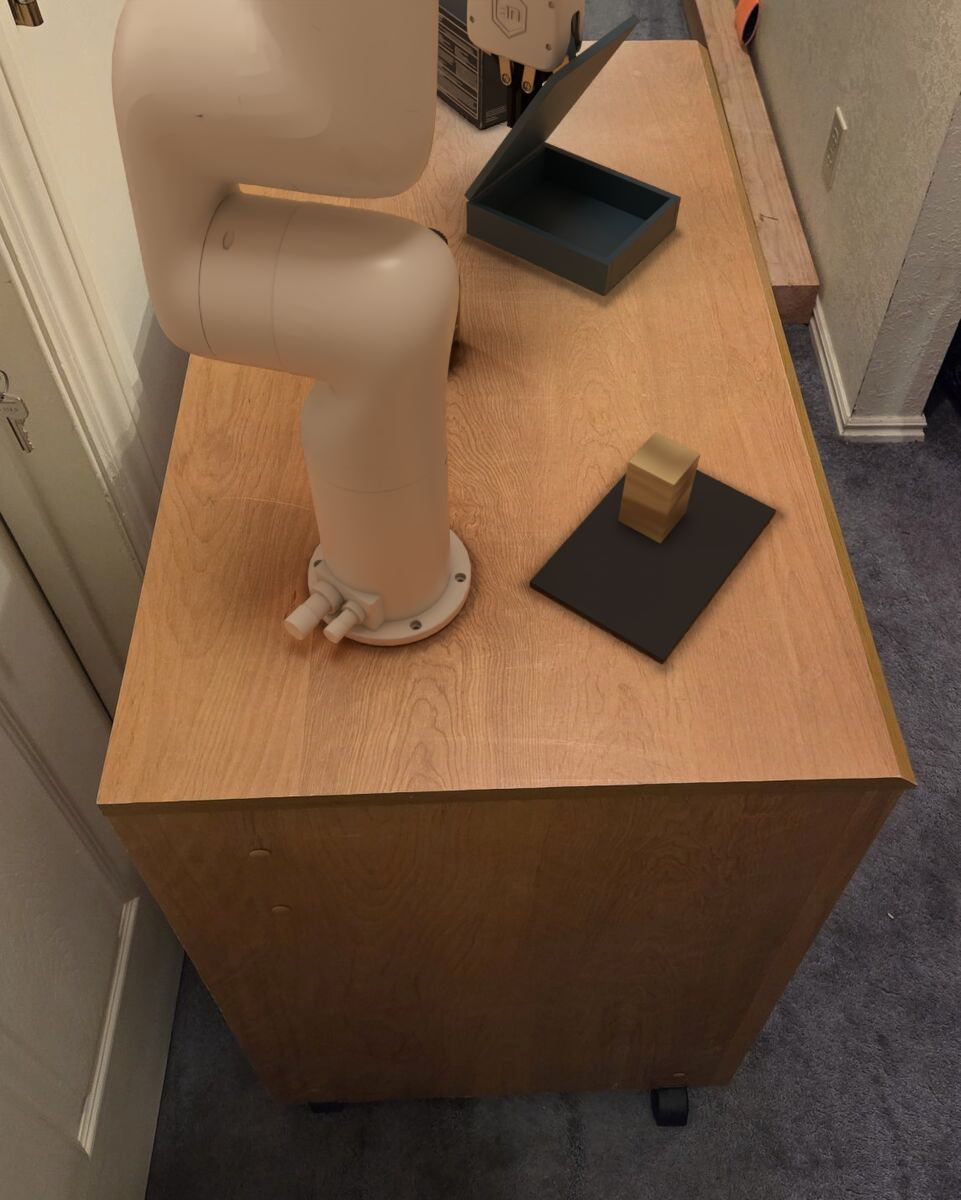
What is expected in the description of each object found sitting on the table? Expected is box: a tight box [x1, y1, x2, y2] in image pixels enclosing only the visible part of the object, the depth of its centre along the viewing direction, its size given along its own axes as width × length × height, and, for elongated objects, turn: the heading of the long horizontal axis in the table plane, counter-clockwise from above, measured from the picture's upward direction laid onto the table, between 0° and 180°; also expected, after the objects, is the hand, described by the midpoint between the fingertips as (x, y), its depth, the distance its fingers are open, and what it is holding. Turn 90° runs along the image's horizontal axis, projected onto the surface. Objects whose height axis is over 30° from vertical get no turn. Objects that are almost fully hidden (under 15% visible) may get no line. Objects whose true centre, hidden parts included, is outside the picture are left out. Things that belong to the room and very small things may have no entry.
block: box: [618, 431, 701, 543], centre depth 81 cm, size 4×4×7 cm
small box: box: [437, 0, 507, 130], centre depth 117 cm, size 11×6×10 cm, turn 34°
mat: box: [529, 468, 777, 664], centre depth 83 cm, size 18×12×1 cm, turn 144°
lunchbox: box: [465, 141, 682, 297], centre depth 105 cm, size 17×14×4 cm
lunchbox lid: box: [463, 13, 641, 201], centre depth 98 cm, size 17×14×1 cm
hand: (522, 123), depth 101 cm, fingers closed
